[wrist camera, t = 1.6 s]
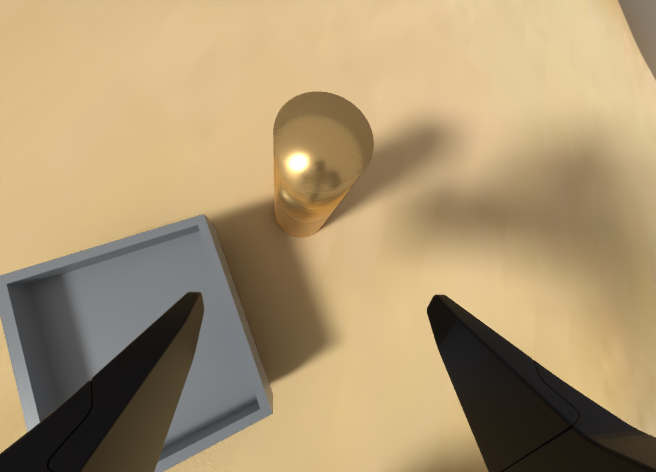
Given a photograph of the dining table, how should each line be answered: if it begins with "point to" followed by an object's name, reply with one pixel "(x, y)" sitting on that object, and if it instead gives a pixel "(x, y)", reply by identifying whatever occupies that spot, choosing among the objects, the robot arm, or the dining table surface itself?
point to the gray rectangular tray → (136, 329)
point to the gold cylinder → (316, 158)
